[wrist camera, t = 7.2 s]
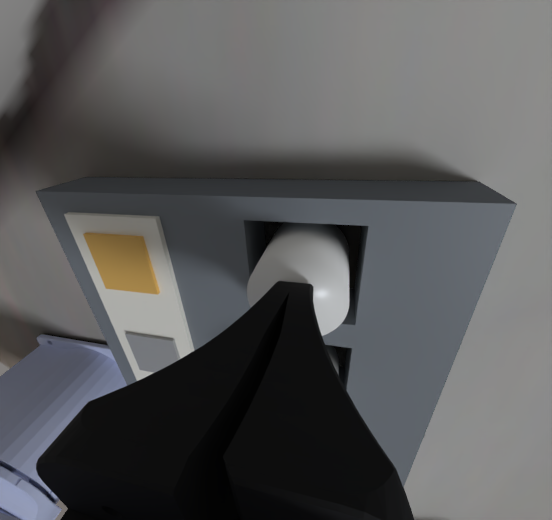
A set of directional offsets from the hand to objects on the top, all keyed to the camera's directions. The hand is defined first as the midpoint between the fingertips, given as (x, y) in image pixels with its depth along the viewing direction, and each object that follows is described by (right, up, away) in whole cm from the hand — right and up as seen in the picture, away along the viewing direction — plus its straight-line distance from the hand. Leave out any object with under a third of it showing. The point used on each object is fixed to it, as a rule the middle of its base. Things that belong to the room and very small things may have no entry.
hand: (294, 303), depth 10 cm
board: (-2, -3, +8) cm, 9 cm away
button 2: (+1, +2, +4) cm, 4 cm away
